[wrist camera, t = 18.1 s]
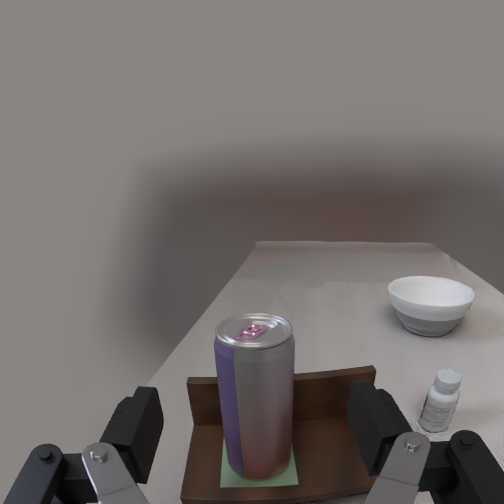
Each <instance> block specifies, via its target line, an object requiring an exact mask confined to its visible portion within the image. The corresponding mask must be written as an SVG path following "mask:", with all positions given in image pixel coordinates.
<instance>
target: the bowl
mask: <svg viewBox="0 0 504 504" xmlns="http://www.w3.org/2000/svg"><path fill="white" fill-rule="evenodd" d="M388 290H389V293H390V297H391V301H392V304H393V306H394V309H395V311H396V313H397V314H398V317H399V319H400V320H401V322H402V323H403V325H404V327H405V328H406V329H407V330H409V331H410V332H412V333H415V334H418V335H422V336H430V337H433V336H441V335H445V334H447V333H448V332H449V331H450V330H451V329H452V328H454V327H455V326H456V325H457V324H458V322H459V321H460V320H462V318H463V317H464V316H465V315H466V314H467V312H468V310H469V308H470V307H471V305H472V303H473V301H474V299H475V293H474V291H473V290H472V289H471V288H470V287H468V286H467V285H465V284H462V283H460V282H457V281H454V280H450V279H445V278H440V277H431V276H411V277H404V278H399V279H396V280H394V281H392V282H391V283H390V284H389V286H388Z"/></svg>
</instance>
